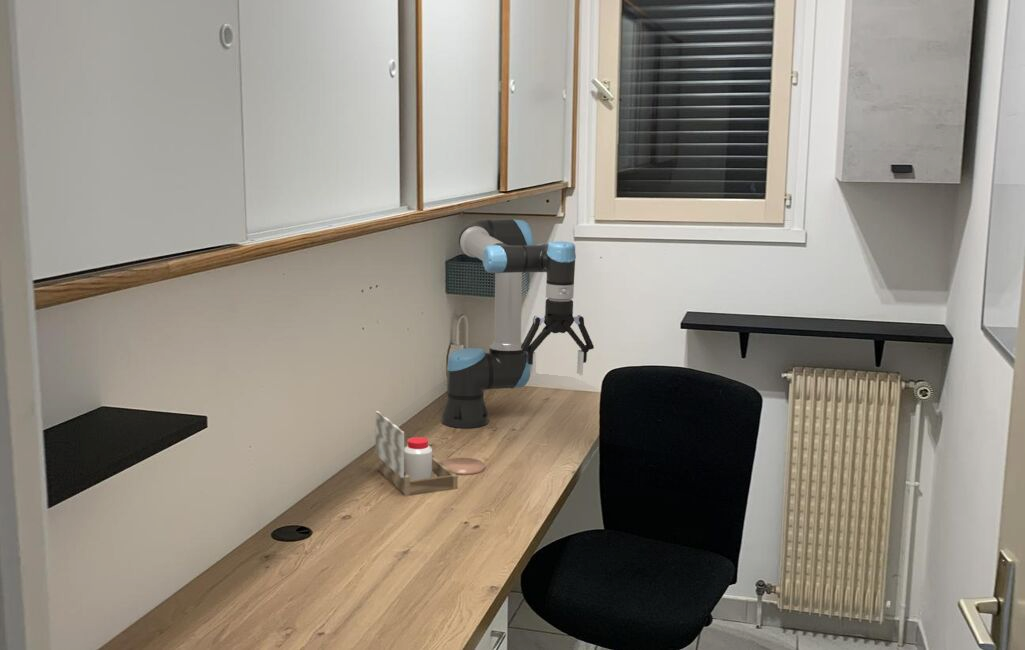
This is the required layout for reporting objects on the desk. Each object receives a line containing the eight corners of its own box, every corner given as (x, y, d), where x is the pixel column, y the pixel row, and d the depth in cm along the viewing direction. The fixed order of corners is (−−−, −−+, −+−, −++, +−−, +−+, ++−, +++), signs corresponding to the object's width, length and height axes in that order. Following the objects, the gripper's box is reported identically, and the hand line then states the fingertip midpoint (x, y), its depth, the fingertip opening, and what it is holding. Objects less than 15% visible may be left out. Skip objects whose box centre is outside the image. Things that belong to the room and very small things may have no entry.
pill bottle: (398, 476, 262) (399, 437, 260) (425, 473, 266) (426, 434, 264) (409, 486, 256) (409, 446, 253) (436, 482, 259) (437, 442, 257)
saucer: (434, 463, 273) (434, 460, 273) (473, 458, 279) (474, 455, 279) (451, 477, 263) (451, 474, 263) (491, 471, 268) (491, 469, 268)
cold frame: (375, 471, 266) (375, 411, 263) (428, 464, 273) (429, 405, 270) (401, 496, 248) (401, 432, 245) (457, 488, 255) (458, 426, 252)
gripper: (518, 302, 258) (516, 379, 262) (607, 300, 264) (603, 376, 269) (511, 297, 265) (509, 373, 269) (598, 296, 271) (594, 370, 276)
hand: (556, 375), depth 269 cm, fingers open, 13 cm apart
